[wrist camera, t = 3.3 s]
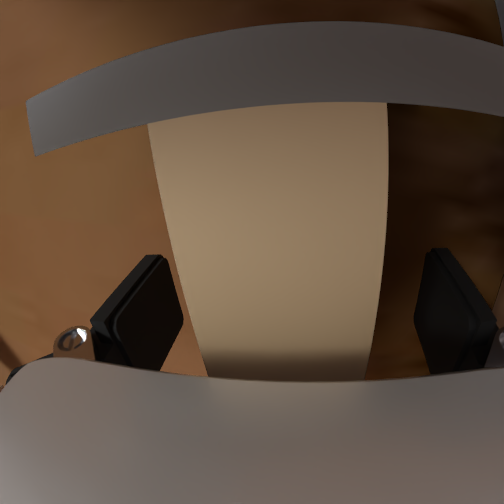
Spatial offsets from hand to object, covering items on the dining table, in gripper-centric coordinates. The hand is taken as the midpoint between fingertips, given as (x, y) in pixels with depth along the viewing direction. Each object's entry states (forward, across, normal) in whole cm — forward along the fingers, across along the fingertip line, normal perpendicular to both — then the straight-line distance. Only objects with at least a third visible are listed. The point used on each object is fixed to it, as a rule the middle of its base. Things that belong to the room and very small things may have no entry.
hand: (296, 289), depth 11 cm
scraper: (+2, 0, 0) cm, 2 cm away
